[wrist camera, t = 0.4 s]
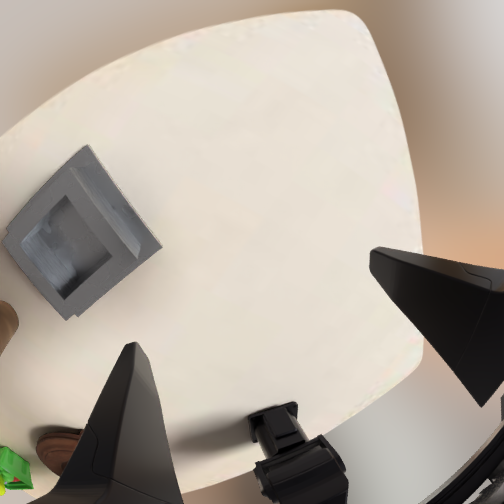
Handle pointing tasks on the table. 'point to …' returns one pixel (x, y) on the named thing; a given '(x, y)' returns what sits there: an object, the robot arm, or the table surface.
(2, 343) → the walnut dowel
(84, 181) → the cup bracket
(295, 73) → the table surface
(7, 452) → the fruit basket
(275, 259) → the table surface
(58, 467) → the brown wooden spool stand
